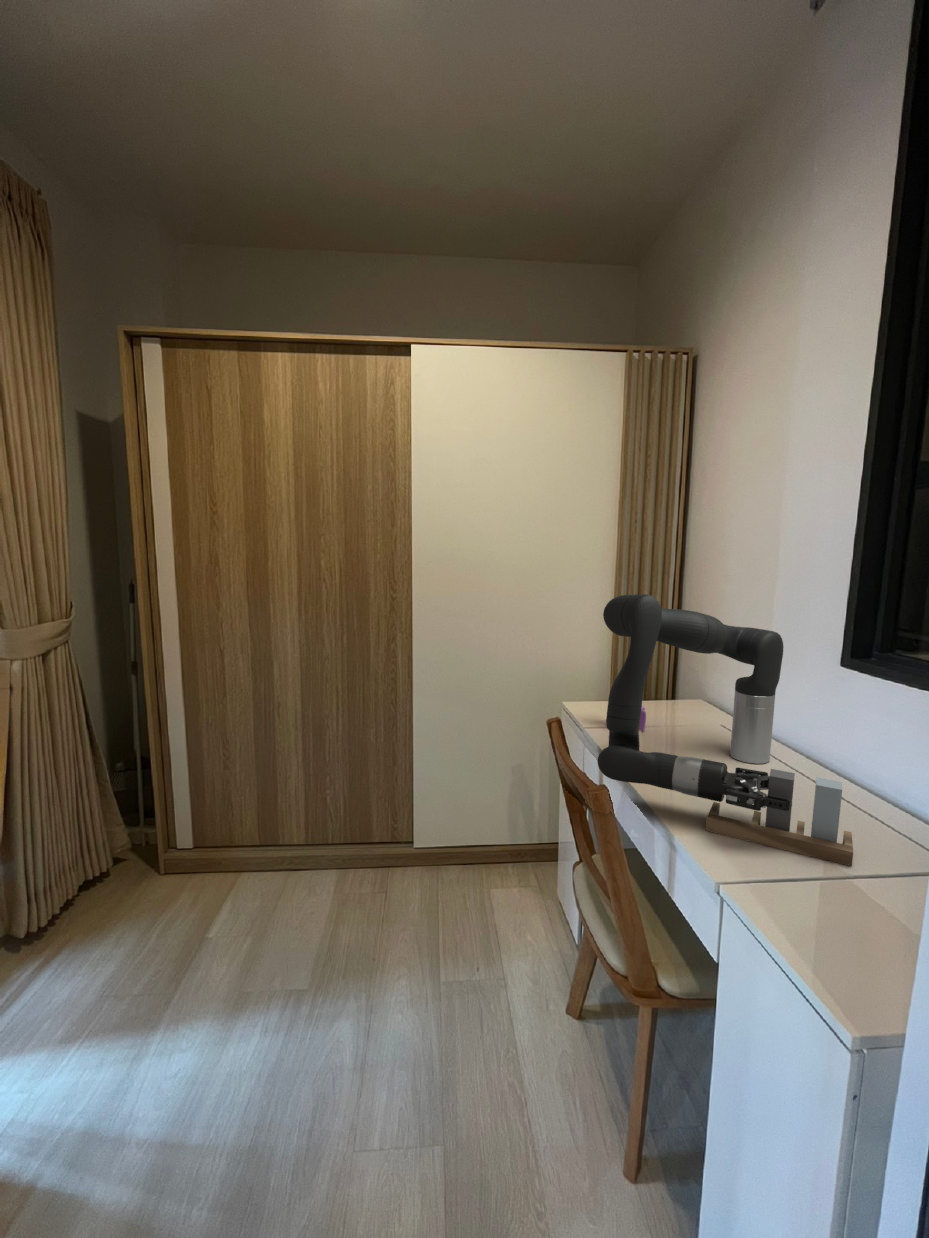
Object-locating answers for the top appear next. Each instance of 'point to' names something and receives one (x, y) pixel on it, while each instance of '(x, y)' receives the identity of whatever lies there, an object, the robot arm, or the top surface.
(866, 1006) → the top surface
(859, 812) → the top surface
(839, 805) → the slate plug
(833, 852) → the cable comb
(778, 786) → the grey tall rectangular block
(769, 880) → the top surface
